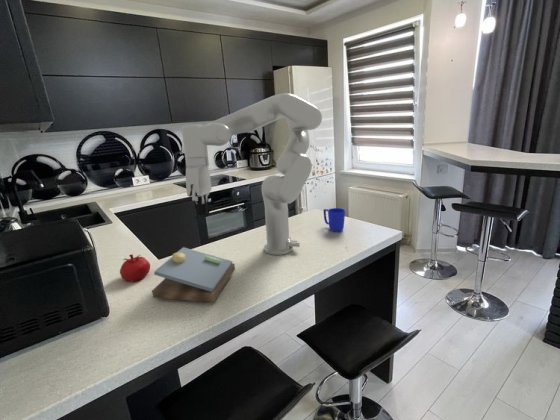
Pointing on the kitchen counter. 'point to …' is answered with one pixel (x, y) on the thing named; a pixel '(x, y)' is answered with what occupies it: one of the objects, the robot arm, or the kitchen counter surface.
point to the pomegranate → (134, 268)
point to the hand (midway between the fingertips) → (203, 213)
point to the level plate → (194, 269)
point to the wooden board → (189, 289)
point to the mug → (335, 218)
